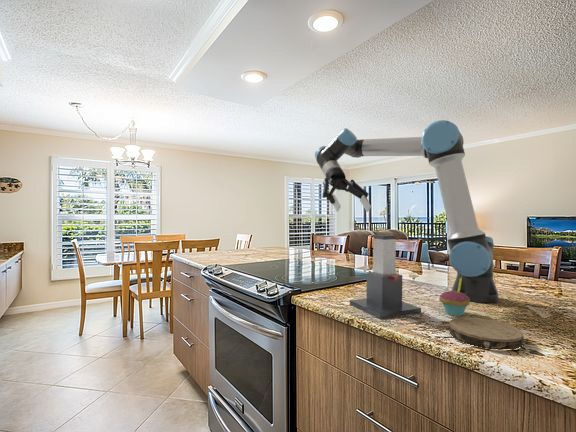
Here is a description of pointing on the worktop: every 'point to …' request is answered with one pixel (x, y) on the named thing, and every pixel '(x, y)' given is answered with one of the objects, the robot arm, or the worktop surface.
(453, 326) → the wooden slice coaster
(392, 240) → the column
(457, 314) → the cupcake
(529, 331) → the worktop surface
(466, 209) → the robot arm
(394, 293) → the stand base
